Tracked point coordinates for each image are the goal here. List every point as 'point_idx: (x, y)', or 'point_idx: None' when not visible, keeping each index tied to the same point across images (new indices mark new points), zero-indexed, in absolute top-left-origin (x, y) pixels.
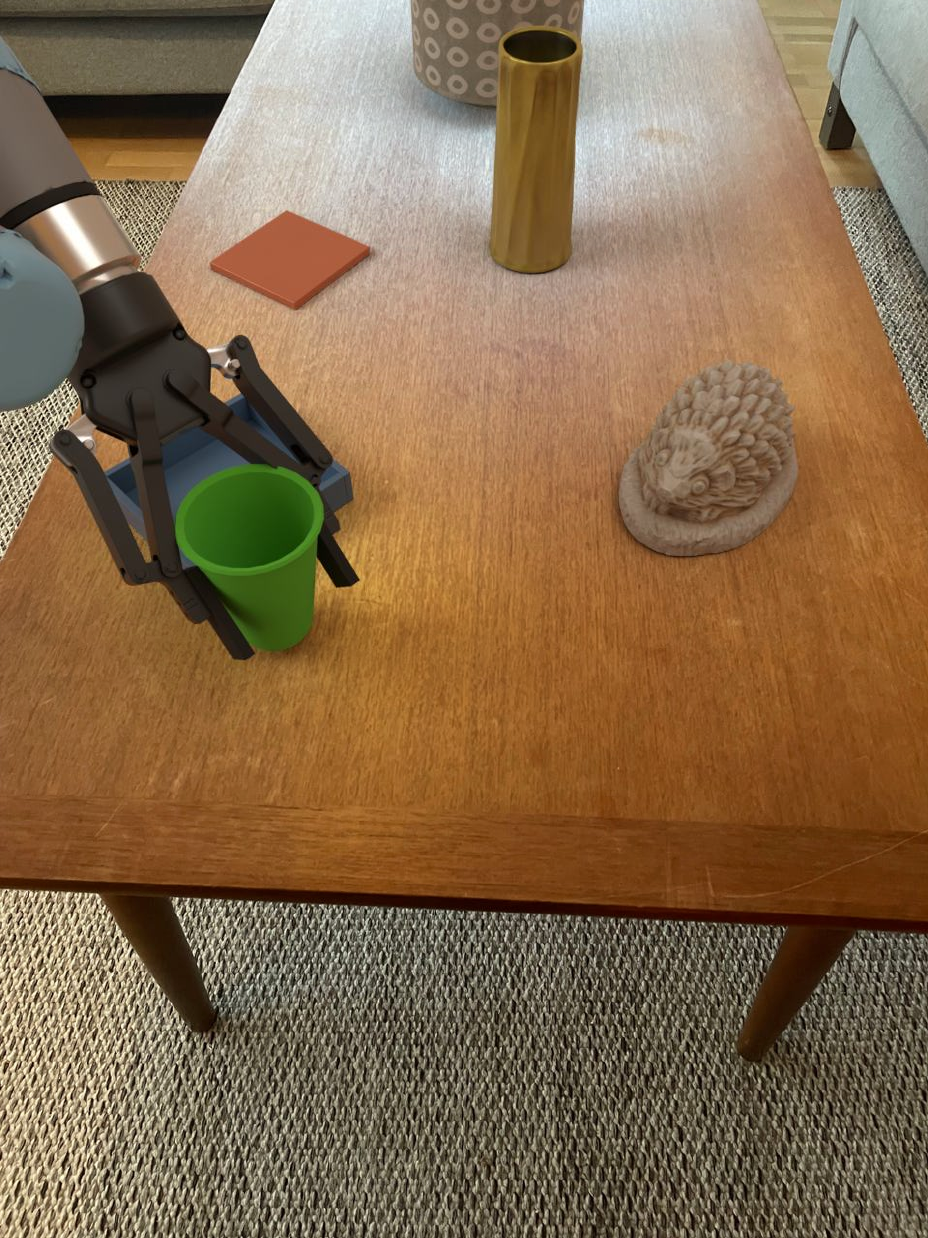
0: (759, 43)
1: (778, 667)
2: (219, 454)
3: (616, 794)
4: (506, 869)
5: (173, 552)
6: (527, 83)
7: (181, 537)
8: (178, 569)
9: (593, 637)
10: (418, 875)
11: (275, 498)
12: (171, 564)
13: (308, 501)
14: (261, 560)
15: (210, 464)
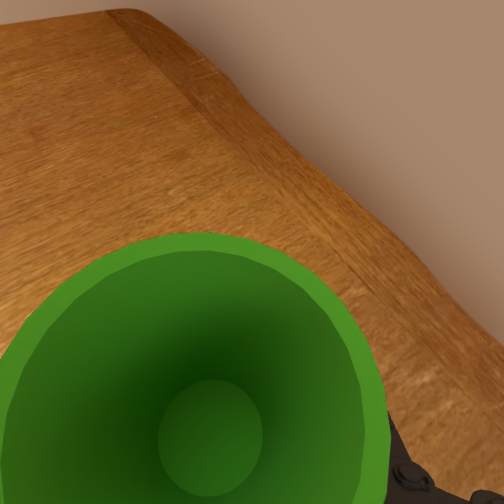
0: None
1: (13, 77)
2: None
3: (176, 110)
4: (270, 134)
5: (394, 501)
6: None
7: (368, 501)
8: (394, 464)
9: (42, 174)
10: (316, 169)
11: (59, 476)
12: (411, 479)
13: (56, 343)
14: (159, 499)
15: None
